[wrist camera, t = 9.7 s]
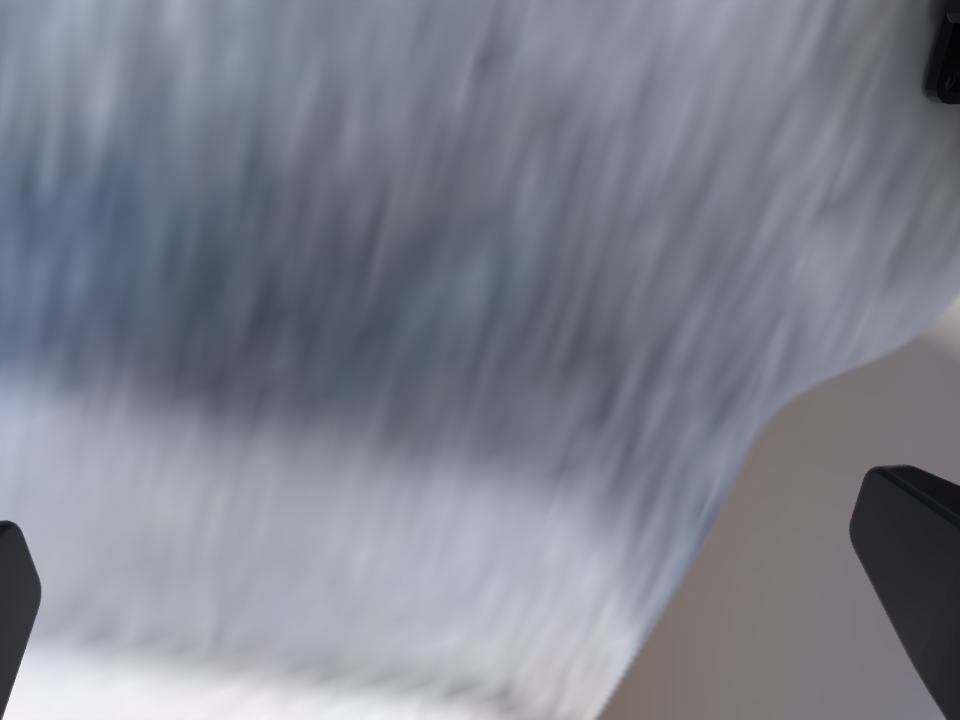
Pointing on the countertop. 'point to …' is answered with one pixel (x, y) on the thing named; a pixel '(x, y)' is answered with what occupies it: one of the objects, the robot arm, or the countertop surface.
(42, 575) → the countertop surface
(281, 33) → the countertop surface
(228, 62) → the countertop surface
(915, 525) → the robot arm
